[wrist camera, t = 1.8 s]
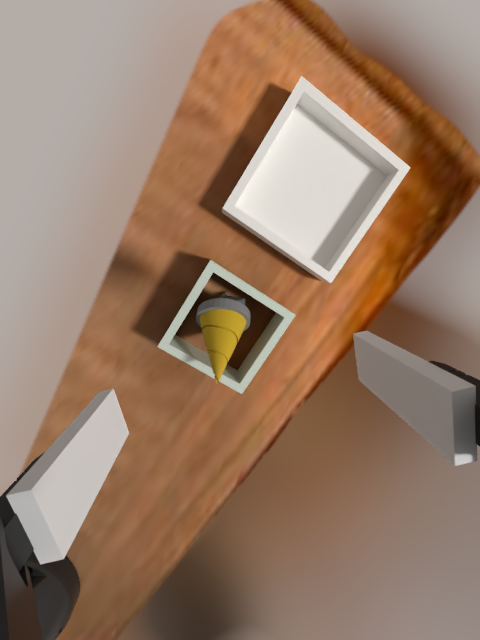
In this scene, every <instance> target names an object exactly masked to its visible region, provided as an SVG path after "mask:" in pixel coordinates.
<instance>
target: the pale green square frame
mask: <svg viewBox="0 0 480 640" xmlns="http://www.w3.org/2000/svg"><path fill="white" fill-rule="evenodd" d="M213 272H214V273H215V274H217V275H218V276H220V277H222V278H223V279H225V280H226V281H228V282H229V283H231V284H233V285H234V286H236V287H237V288H239V289H240V290H242V291H244V292H245V293H247V294H248V295H250V296H251V297H253V298H254V299H256V300H258V301H259V302H261V303H262V304H264V305H265V306H267V307H269V308H270V309H272V310H273V311H275V312H276V313H275V315H274V316H273V318H272V319H271V321H270V322H269V324H268V325H267V327H266V328H265V330H264V331H263V333H262V334H261V336H260V337H259V339H258V340H257V342H256V343H255V345H254V346H253V348H252V349H251V351H250V352H249V354H248V355H247V357H246V358H245V360H244V361H243V363H242V364H241V366H240V367H239V369H238V370H235V369H234V368H232V367H230V366H229V365H226V368H225V370H224V372H223V374H222V376H221V378H220V380H219V382H221V383H223V384H225V385H227V386H228V387H230V388H232V389H234V390H235V391H237V392H239V393H241V394H242V393H243V392H244V390H245V389H246V387H247V386H248V385H249V383H250V382H251V380H252V379H253V377H254V376H255V374H256V373H257V371H258V370H259V368H260V367H261V365H262V364H263V362H264V361H265V360H266V358H267V357H268V355H269V354H270V352H271V351H272V349H273V348H274V346H275V345H276V343H277V342H278V340H279V339H280V338H281V336H282V335H283V333H284V332H285V330H286V329H287V327H288V326H289V324H290V323H291V321H292V320H293V318H294V317H295V314H294V313H292V312H291V311H290V310H288V309H287V308H285V307H284V306H282V305H281V304H279V303H277V302H276V301H274V300H273V299H271V298H270V297H268V296H267V295H265V294H264V293H262V292H260V291H259V290H257V289H256V288H254V287H253V286H251V285H250V284H248V283H246V282H245V281H243V280H242V279H240V278H239V277H237V276H236V275H234V274H233V273H231V272H229V271H228V270H226V269H225V268H223V267H222V266H220V265H219V264H217V263H216V262H214V261H212V260H210V261H209V263H208V265H207V266H206V268H205V270H204V271H203V273H202V274H201V276H200V278H199V279H198V281H197V283H196V284H195V286H194V288H193V289H192V291H191V292H190V294H189V296H188V297H187V299H186V301H185V302H184V304H183V306H182V307H181V309H180V311H179V312H178V314H177V315H176V317H175V319H174V320H173V322H172V324H171V325H170V327H169V329H168V330H167V332H166V333H165V335H164V337H163V338H162V340H161V342H160V343H159V345H158V347H159V348H160V349H162V350H164V351H166V352H167V353H169V354H171V355H173V356H175V357H176V358H178V359H180V360H182V361H184V362H185V363H187V364H189V365H191V366H193V367H194V368H196V369H198V370H200V371H201V372H203V373H205V374H207V375H209V376H210V377H212V378H214V379H215V377H214V376H215V374H214V373H213V370H212V366H211V362H210V358H209V354H208V353H206V352H204V351H202V350H201V349H199V348H197V347H195V346H194V345H192V344H190V343H188V342H187V341H185V340H183V339H182V338H180V337H178V336H176V335H175V334H176V332H177V330H178V329H179V327H180V326H181V324H182V322H183V321H184V319H185V317H186V316H187V314H188V313H189V311H190V309H191V308H192V306H193V304H194V303H195V301H196V300H197V298H198V296H199V295H200V293H201V291H202V290H203V288H204V287H205V285H206V283H207V282H208V280H209V279H210V277H211V275H212V274H213Z"/></svg>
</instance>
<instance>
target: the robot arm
mask: <svg viewBox="0 0 480 640" xmlns="http://www.w3.org/2000/svg"><path fill="white" fill-rule="evenodd" d="M353 338H354V346H355V354H356V361H357V369H358V377H359V381H361V382H362V383H363V384H364V385H365V386H366V387H367V388H368V389H369V390H371V391H372V392H373V393H374V394H375V395H376V396H377V397H378V398H380V399H381V400H382V401H383V402H384V403H385V404H386V405H387V406H389V407H390V408H391V409H392V410H393V411H394V412H395V413H396V414H397V415H399V416H400V417H401V418H402V419H403V420H404V421H405V422H407V423H408V424H409V425H410V426H411V427H412V428H413V429H414V430H415V431H417V432H418V433H419V434H420V435H421V436H422V437H423V438H425V439H426V440H427V441H428V442H429V443H430V444H431V445H432V446H433V447H434V448H436V449H437V450H438V451H439V452H440V453H441V454H442V455H443V456H444V457H446V458H447V459H448V460H449V461H450V462H451V463H452V464H453V465H455V466H457V465H461V464H465V463H469V462H473V461H477V445H479V446H480V380H478V379H476V378H474V377H472V376H469V375H466V374H465V373H463V372H461V371H459V370H458V371H457V369H455V368H453V367H450V366H448V365H446V364H443V363H439V362H435V361H428V362H427V361H425V360H423V359H422V358H420V357H418V356H416V355H414V354H412V353H410V352H408V351H406V350H404V349H402V348H400V347H398V346H396V345H394V344H392V343H390V342H388V341H386V340H384V339H382V338H380V337H378V336H376V335H374V334H372V333H370V332H368V331H363V332H359V333H355V334H353ZM128 434H129V431H128V428H127V426H126V423H125V420H124V417H123V414H122V411H121V408H120V406H119V403H118V400H117V397H116V394H115V391H114V389H109V390H105V391H101V392H99V393H98V394H97V395H96V396H95V397H94V398H93V399H92V401H91V402H90V403H89V404H88V405H87V406H86V407H85V408H84V409H83V411H82V412H81V413H80V414H79V415H78V416H77V417H76V418H75V419H74V421H73V422H72V423H71V424H70V425H69V426H68V427H67V428H66V429H65V431H64V432H63V433H62V434H61V435H60V436H59V437H58V438H57V439H56V441H55V442H54V443H53V444H52V445H51V446H50V447H49V448H48V449H47V451H46V452H44V453H43V454H42V455H40V456H39V457H38V458H36V459H35V460H34V461H33V462H32V463H31V464H30V465H29V466H28V467H27V468H26V469H25V472H23V473H22V474H21V475H20V476H19V477H18V478H17V481H14V483H13V484H12V485H11V486H10V487H9V488H8V489H7V490H6V491H5V492H4V493H3V495H2V496H1V497H0V640H55V639H56V638H57V637H58V636H59V634H60V633H61V632H62V630H63V629H64V628H65V626H66V624H67V622H68V621H69V619H70V616H71V614H72V612H73V609H74V607H75V604H76V602H77V599H78V597H79V592H80V581H79V577H78V574H77V571H76V569H75V568H74V566H73V564H72V563H71V562H70V561H69V560H68V558H67V557H65V556H66V554H67V552H68V550H69V548H70V546H71V544H72V542H73V540H74V538H75V537H76V535H77V533H78V531H79V529H80V527H81V525H82V523H83V521H84V519H85V517H86V515H87V513H88V511H89V510H90V508H91V506H92V504H93V502H94V500H95V498H96V496H97V494H98V492H99V490H100V488H101V486H102V485H103V483H104V481H105V479H106V477H107V475H108V473H109V471H110V469H111V467H112V465H113V463H114V461H115V459H116V458H117V456H118V454H119V452H120V450H121V448H122V446H123V444H124V442H125V440H126V438H127V436H128Z"/></svg>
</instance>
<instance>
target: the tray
mask: <svg viewBox="0 0 480 640" xmlns="http://www.w3.org/2000/svg"><path fill="white" fill-rule="evenodd" d="M410 168H411V167H409V166H408V165H407V164H406V163H405V162H403V161H402V160H401V159H400V158H399V157H397V156H396V155H395V154H394V153H393V152H392V151H390V150H389V149H388V148H387V147H386V146H384V145H383V144H382V143H381V142H380V141H378V140H377V139H376V138H375V137H374V136H372V135H371V134H370V133H369V132H368V131H367V130H365V129H364V128H363V127H362V126H361V125H359V124H358V123H357V122H356V121H355V120H353V119H352V118H351V117H350V116H349V115H347V114H346V113H345V112H344V111H343V110H342V109H340V108H339V107H338V106H337V105H336V104H334V103H333V102H332V101H331V100H330V99H328V98H327V97H326V96H325V95H324V94H322V93H321V92H320V91H319V90H318V89H317V88H315V87H314V86H313V85H312V84H311V83H309V82H308V81H307V80H306V79H305V78H303V77H302V76H301V78H300V80H299V81H298V83H297V85H296V86H295V88H294V90H293V91H292V93H291V95H290V96H289V98H288V100H287V101H286V103H285V105H284V106H283V108H282V110H281V111H280V113H279V115H278V116H277V118H276V120H275V121H274V123H273V125H272V126H271V128H270V130H269V131H268V133H267V135H266V136H265V138H264V140H263V141H262V143H261V145H260V146H259V148H258V150H257V151H256V153H255V155H254V156H253V158H252V160H251V161H250V163H249V165H248V166H247V168H246V170H245V171H244V173H243V175H242V176H241V178H240V180H239V181H238V183H237V185H236V186H235V188H234V190H233V191H232V193H231V195H230V196H229V198H228V200H227V201H226V203H225V205H224V206H223V208H222V213H223V214H225V215H226V216H227V217H229V218H230V219H232V220H233V221H235V222H236V223H238V224H239V225H241V226H242V227H243V228H245V229H246V230H248V231H249V232H251V233H252V234H254V235H255V236H257V237H258V238H259V239H261V240H262V241H264V242H265V243H267V244H268V245H270V246H271V247H273V248H274V249H275V250H277V251H278V252H280V253H281V254H283V255H284V256H286V257H287V258H289V259H290V260H291V261H293V262H294V263H296V264H297V265H299V266H300V267H302V268H303V269H305V270H306V271H307V272H309V273H310V274H312V275H313V276H315V277H316V278H318V279H319V280H321V281H323V282H327V283H331V282H332V281H333V280H334V278H335V277H336V275H337V274H338V272H339V271H340V269H341V268H342V266H343V265H344V264H345V262H346V261H347V259H348V258H349V256H350V255H351V253H352V252H353V250H354V249H355V248H356V246H357V245H358V243H359V242H360V240H361V239H362V237H363V236H364V235H365V233H366V232H367V230H368V229H369V227H370V226H371V224H372V223H373V221H374V220H375V219H376V217H377V216H378V214H379V213H380V211H381V210H382V208H383V207H384V205H385V204H386V203H387V201H388V200H389V198H390V197H391V195H392V194H393V192H394V191H395V189H396V188H397V187H398V185H399V184H400V182H401V181H402V179H403V178H404V176H405V175H406V174H407V172H408V171H409V169H410Z"/></svg>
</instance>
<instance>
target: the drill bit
mask: <svg viewBox="0 0 480 640" xmlns="http://www.w3.org/2000/svg"><path fill="white" fill-rule="evenodd" d="M196 322H197V324H198V325H199V326H200V327H201V328H202V332H203V336H204V339H205V343H206V347H207V350H208V351H210V352H208V354H209V358H210V362H211V366H212V370H213V373H214V374H215V376H214V377H215V381H216V383H218V382H219V380H220V378H221V376H222V374H223V372H224V370H225V368H226V365H227V363H228V361H229V359H230V357H231V355H232V353H233V351H234V349H235V347H236V345H237V343H238V341H239V339H240V336H241V334H242V332H243V331H245V330H246V329H247V328H248V327H249V326H250V311H249V309H248V308H247V307H246V306H245V298H238V297H232V296H227V295H226V292H224V293H223V294H222V295H221V296H219V297H218V298H215V299H210V300H207V301H204V302H202V303H201V304H200V305H199V306H198V308H197V314H196Z"/></svg>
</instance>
